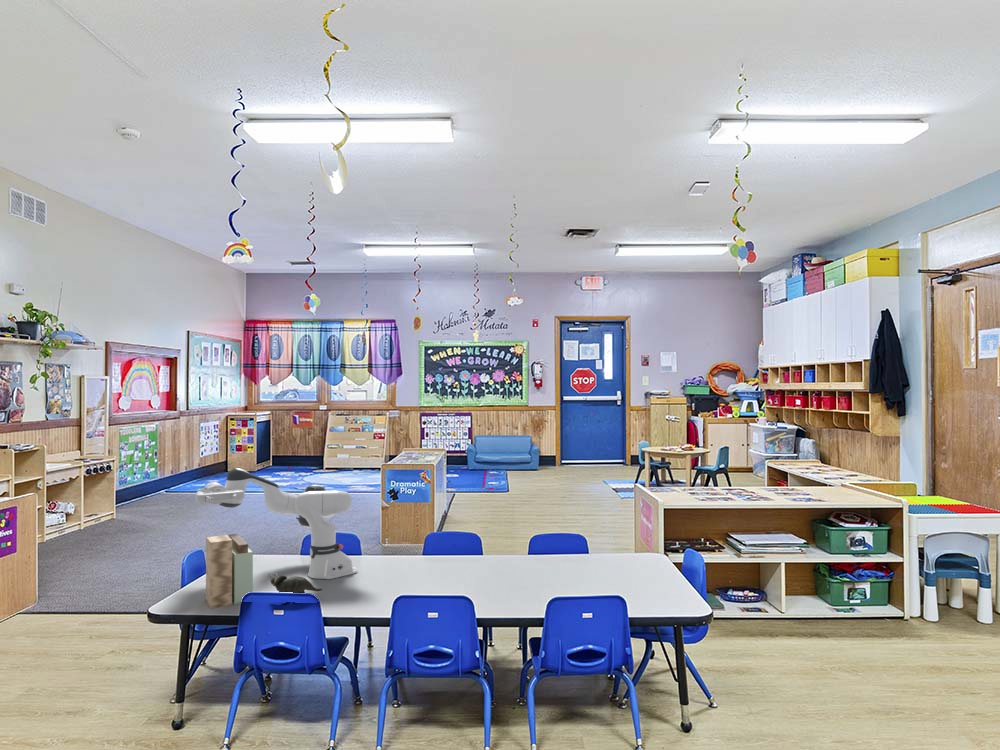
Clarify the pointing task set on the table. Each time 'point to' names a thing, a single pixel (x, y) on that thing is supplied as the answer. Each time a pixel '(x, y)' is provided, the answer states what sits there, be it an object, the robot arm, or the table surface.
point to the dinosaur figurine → (292, 584)
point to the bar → (239, 544)
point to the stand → (218, 571)
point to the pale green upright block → (241, 574)
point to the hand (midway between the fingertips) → (223, 498)
